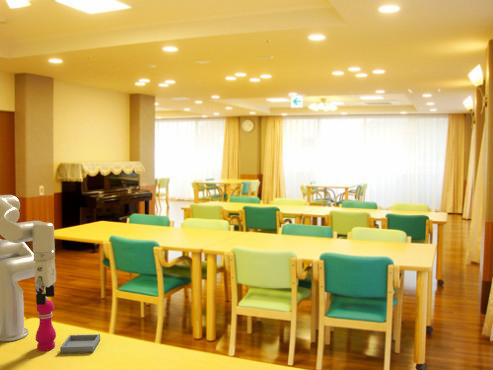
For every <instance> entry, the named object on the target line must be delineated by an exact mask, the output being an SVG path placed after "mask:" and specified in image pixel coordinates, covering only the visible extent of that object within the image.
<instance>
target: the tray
mask: <svg viewBox="0 0 493 370" xmlns="http://www.w3.org/2000/svg"><path fill="white" fill-rule="evenodd" d="M100 342H101V334H99V333H98V334H97V333H96V334H69V335H68V337H67V338H66V339H65V340H64V342H63V343H62V344H61V346H60V355H62V354H63V355H65V354H93V353H94V352H95V350H96V348H97V346H98V345H99V343H100Z"/></svg>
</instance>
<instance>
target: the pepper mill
mask: <svg viewBox="0 0 493 370" xmlns="http://www.w3.org/2000/svg"><path fill="white" fill-rule="evenodd" d="M54 307H55V306H54V302H52V301H51V300H48V297H46V304H45V305H37V304H36V311H37V312H38V314H37V318H38V319H39V323H38V324H39V325H38V328H37V331H36V333H35V341H36V342H37V344H36V348H37V350H38V352H39V351H40V352H46V351H50V350H53V349H55V348H56V341H55V340H56V338H57V332H56V330H55V328H54V326H53V322H52V317H53V316H54V315H53V310H54Z"/></svg>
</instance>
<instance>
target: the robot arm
mask: <svg viewBox="0 0 493 370" xmlns="http://www.w3.org/2000/svg"><path fill="white" fill-rule="evenodd" d="M20 208H21V203H20V200H19V198H18V197H16V196H15V195H13V194H0V237H2V238H4V239H2V238H0V342H2V343H3V342H12V341H13V342H14V341H17V340H21V339H24V338H25V337H27V336H28V335H29V329H28V328H26V327H25V313H24V312H25V305H24V290H23V289H22V287H21V286H20V284H19V283H18V282H20V281H23V280H27V279H30V278H34V287H35V298H36V299H35V303H36V304H35V305H36V306H37V305H45V304H46V297H47V298H53V297H55V283H56V281H57V271H56V262H55V259H56V252H55V251H56V248H55V245H56V244H55V226H54V224H53V223H52V222H44V221H41V220H31V221H22V222H18V221H19V219H20V211H19V210H20ZM26 242H32V250H31V248H29V246H28V244H26Z"/></svg>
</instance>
